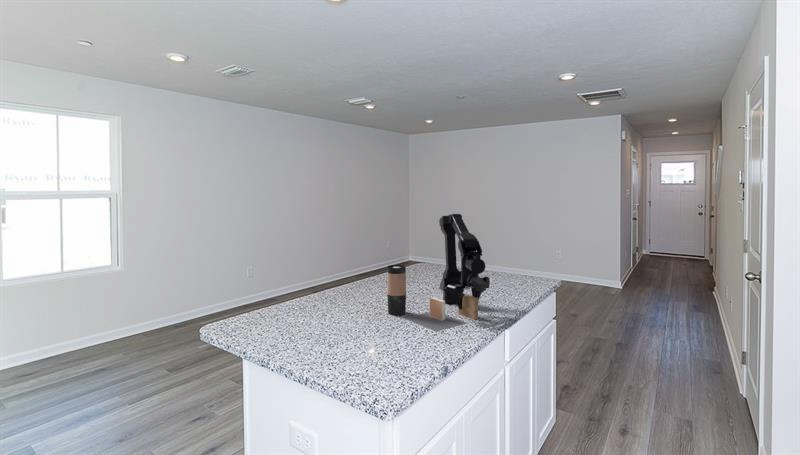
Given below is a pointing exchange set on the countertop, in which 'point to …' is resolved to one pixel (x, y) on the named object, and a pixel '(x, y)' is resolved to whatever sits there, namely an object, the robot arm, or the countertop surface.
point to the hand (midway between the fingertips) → (468, 307)
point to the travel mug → (396, 289)
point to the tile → (437, 308)
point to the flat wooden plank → (469, 307)
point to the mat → (435, 321)
